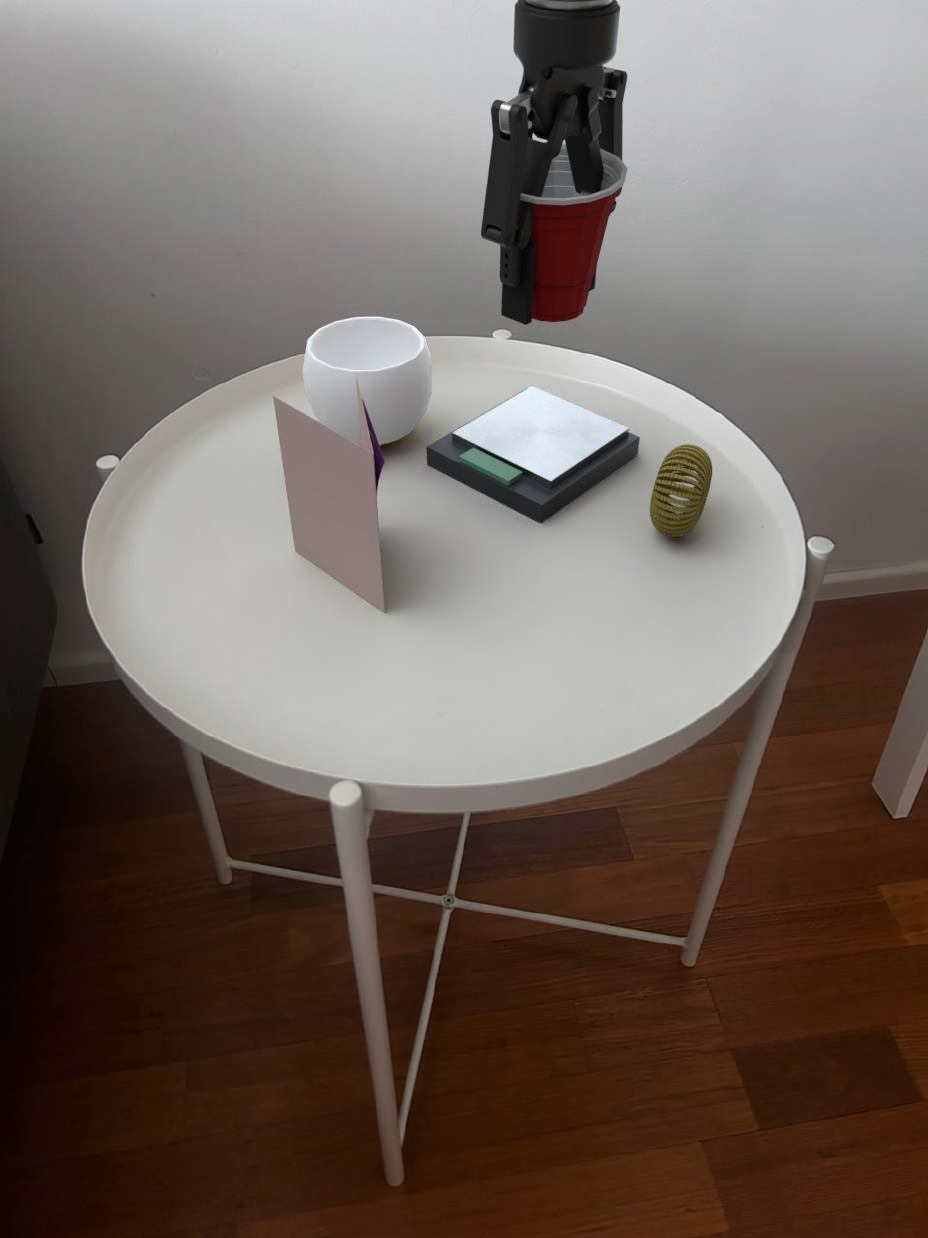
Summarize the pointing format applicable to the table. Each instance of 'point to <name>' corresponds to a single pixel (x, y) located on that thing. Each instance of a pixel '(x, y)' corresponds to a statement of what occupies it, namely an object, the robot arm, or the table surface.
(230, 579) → the table surface
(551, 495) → the scale
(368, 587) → the greeting card
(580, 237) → the plastic cup
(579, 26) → the robot arm
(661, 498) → the sculpture
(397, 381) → the cup
